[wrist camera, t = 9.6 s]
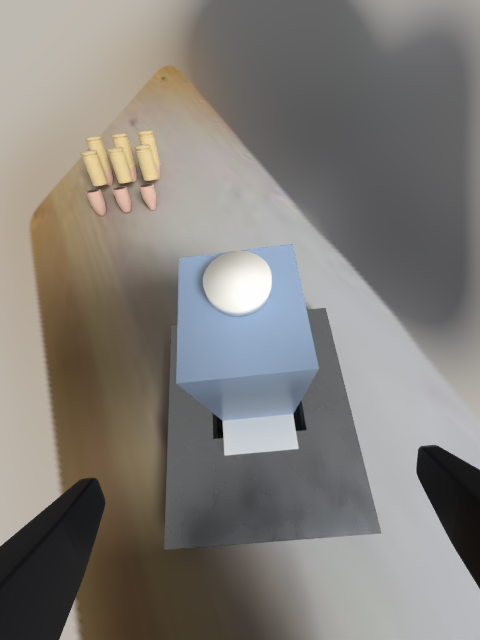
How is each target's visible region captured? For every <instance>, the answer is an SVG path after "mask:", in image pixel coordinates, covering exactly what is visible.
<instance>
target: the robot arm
mask: <svg viewBox="0 0 480 640" xmlns="http://www.w3.org/2000/svg"><path fill="white" fill-rule="evenodd" d="M417 475H418V478H419V480H420V482H421V484H422V486H423V488H424V490H425V492H426V494H427V496H428V498H429V500H430V502H431V504H432V506H433V508H434V510H435V512H436V514H437V516H438V518H439V520H440V522H441V524H442V526H443V527H444V529H445V531H446V533H447V535H448V537H449V539H450V541H451V543H452V544H453V546H454V548H455V549H456V551H457V553H458V554H459V556H460V558H461V559H462V561H463V562H464V564H465V566H466V567H467V569H468V570H469V572H470V574H471V575H472V577H473V579H474V580H475V582H476V583H477V585H478V587H479V588H480V470H479V469H477V468H476V467H474V466H472V465H470V464H469V463H467V462H465V461H463V460H462V459H460V458H458V457H456V456H455V455H453V454H451V453H449V452H448V451H446V450H444V449H442V448H441V447H439V446H436V445H428V446H421V447H420V448H419V449H418V457H417ZM104 507H105V498H104V495H103V492H102V490H101V487H100V484H99V482H98V480H97V479H96V478H86V479H81V480H79V481H78V482H77V483H76V484H74V485H73V486H72V487H71V488H70V489H68V490H67V491H66V492H65V493H64V494H62V495H61V496H60V497H59V498H58V499H56V500H55V501H54V502H53V503H52V504H51V505H49V506H48V507H47V508H46V509H45V510H43V511H42V512H41V513H40V514H39V515H37V516H36V517H35V518H34V519H33V520H31V521H30V522H29V523H28V524H27V525H25V526H24V527H23V528H22V529H21V530H20V531H18V532H17V533H16V534H15V535H14V536H12V537H11V538H10V539H9V540H8V541H6V542H5V543H4V544H3V545H2V546H0V640H59V638H60V636H61V633H62V631H63V628H64V626H65V623H66V620H67V618H68V615H69V613H70V610H71V608H72V605H73V602H74V600H75V597H76V595H77V592H78V590H79V587H80V584H81V582H82V579H83V576H84V574H85V571H86V567H87V564H88V561H89V558H90V555H91V551H92V548H93V545H94V541H95V538H96V534H97V531H98V528H99V524H100V521H101V518H102V514H103V511H104Z"/></svg>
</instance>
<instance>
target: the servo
mask: <svg viewBox="0 0 480 640" xmlns="http://www.w3.org/2000/svg"><path fill="white" fill-rule="evenodd" d="M318 370H319V366H318V361H317V356H316V352H315V347H314V342H313V338H312V333H311V328H310V324H309V319H308V314H307V309H306V305H305V300H304V295H303V291H302V286H301V281H300V276H299V272H298V267H297V262H296V258H295V253H294V248H293V244H289V245H281V246H273V247H265V248H257V249H249V250H241V251H232V252H225V253H217V254H209V255H201V256H193V257H185V258H179V277H178V323H177V369H176V384H177V385H179V386H180V387H181V388H182V389H184V390H185V391H186V392H187V393H189V394H190V395H191V396H192V397H194V398H195V399H196V400H197V401H199V402H200V403H201V404H202V405H204V406H205V407H206V408H207V409H209V410H210V411H211V412H212V413H214V414H215V415H216V416H217V417H219V418H220V419H221V420H222V421H223V437H224V455H225V456H226V455H237V454H248V453H259V452H270V451H281V450H292V449H299V448H298V441H297V435H296V429H295V422H294V416H293V414H294V412H295V410H296V408H297V407H298V405H299V403H300V401H301V400H302V398H303V396H304V394H305V392H306V391H307V389H308V387H309V385H310V384H311V382H312V380H313V378H314V377H315V375H316V373H317V371H318Z"/></svg>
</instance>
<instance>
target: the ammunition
mask: <svg viewBox="0 0 480 640" xmlns="http://www.w3.org/2000/svg"><path fill="white" fill-rule="evenodd" d="M152 133H153V131H152V130H148V131H141V132H138V133H137V134H138V135H139V141H140V145H138V146H135V147H134V148H135V149H136V155H137V158H138V161H139V165H140V168H141V172H142V175H143V179H144V180H145V181H149V180H158V179H160V160H159V156H158V152H157V147H156V143H155V139H154V135H153V134H152ZM111 137H112V138H113V143H114V146H115V148H112V149H108V150H107V151H108V152H109V157H110V160H111V163H112V166H113V169H114V171H115V174H116V177H117V180H118V183H128V182H135V181H136V180H137V172H136V167H135V166H136V165H135V161H134V158H133V154H132V151H131V147H130V144H129V140H128V138H127V134H126V133H122V134H115V135H111ZM101 139H102V138H101V136H96V137H89V138H86V141H87V145H88V148H89V150H90V151H85V152H81V155H82V156H83V157H82V159H83V161H84V164H85V166H86V169H87V171H88V174H89V176H90V179H91V181H92V184H93V186H101V185H105V184H106V185H108V186H110V185H112V184H113V174H112V170H111V169H112V168H111V165H110V162H109V159H108V156H107V153H106V150H105V147H104V144H103V141H102V140H101ZM139 188H140V191H141V195H142V198H143V200H144V201H145V203H146V204H147V206H148V207H149V209H150V210H155V209H156V192H155V188H154V184H143V185H140V186H139ZM112 190H113V193H114V196H115V199H116V201H117V203H118V205H119V207H120V208H121V210H122V211H123V212H125V213H127V212H130V211H131V199H130V195H129V192H128V189H127V187H126V186H121V187H116V188H113V189H112ZM86 194H87V197H88V199H89V202H90V204H91V206H92V207H93V209H94V210H95V212H96V213H97V214H98V215H100V216H104V215H105V214H106V205H105V201H104V198H103V195H102V192H101V190H100V189H93V190H89V191H87V192H86Z"/></svg>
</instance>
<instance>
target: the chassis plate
mask: <svg viewBox="0 0 480 640" xmlns="http://www.w3.org/2000/svg"><path fill="white" fill-rule="evenodd" d="M307 314H308V319H309V324H310V328H311V333H312V338H313V342H314V347H315V352H316V356H317V361H318V366H319V370H318V371H317V373H316V375H315V377H314V378H313V380H312V382H311V384H310V385H309V387H308V389H307V391H306V392H305V394H304V396H303V398H302V400H301V401H300V403H299V410H300V416H301V422H302V428H303V431H296V435H297V441H298V448H299V449H292V450H281V451H270V452H259V453H248V454H237V455H226V456H225V455H224V438H219V439H218V424H217V416H216V415H215V414H214V413H212V412H211V411H210V410H209V409H207V408H206V407H205V406H204V405H202V404H201V403H200V402H199V401H197V400H196V399H195V398H194V397H192V396H191V395H190V394H189V393H187V392H186V391H185V390H184V389H182V388H181V387H180V386H179V385H177V384H176V369H177V325H171V351H170V382H169V413H168V445H167V476H166V507H165V538H164V550H170V549H183V548H196V547H210V546H223V545H236V544H249V543H262V542H275V541H288V540H301V539H314V538H327V537H340V536H353V535H366V534H379V533H381V530H380V526H379V522H378V518H377V514H376V510H375V506H374V502H373V498H372V494H371V490H370V486H369V482H368V478H367V474H366V470H365V466H364V461H363V457H362V453H361V449H360V445H359V441H358V437H357V433H356V429H355V425H354V421H353V417H352V413H351V409H350V405H349V401H348V397H347V393H346V389H345V385H344V381H343V377H342V373H341V369H340V365H339V361H338V357H337V353H336V349H335V345H334V341H333V336H332V332H331V328H330V324H329V320H328V316H327V312H326V308H320V309H311V310H307Z"/></svg>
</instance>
